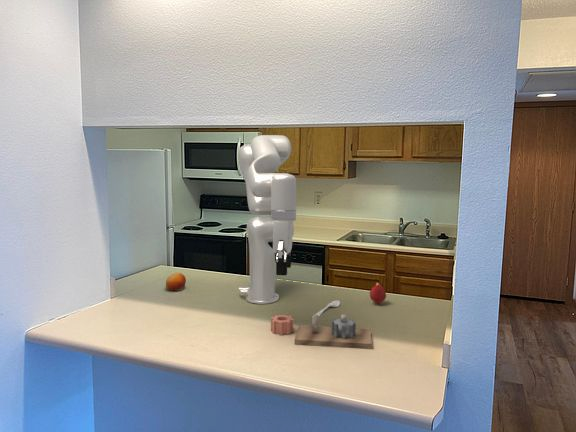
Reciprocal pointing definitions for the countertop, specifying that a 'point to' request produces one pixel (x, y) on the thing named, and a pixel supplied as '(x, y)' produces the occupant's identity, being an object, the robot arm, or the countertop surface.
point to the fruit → (176, 282)
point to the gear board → (334, 334)
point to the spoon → (328, 306)
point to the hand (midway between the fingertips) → (283, 271)
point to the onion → (378, 294)
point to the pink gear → (281, 324)
